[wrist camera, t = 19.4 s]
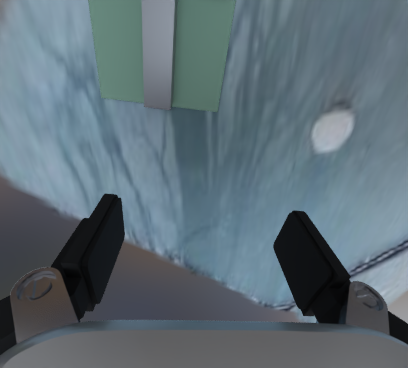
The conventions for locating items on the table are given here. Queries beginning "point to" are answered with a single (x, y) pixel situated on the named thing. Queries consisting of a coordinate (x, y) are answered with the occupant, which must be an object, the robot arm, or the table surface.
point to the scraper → (159, 51)
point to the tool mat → (184, 54)
